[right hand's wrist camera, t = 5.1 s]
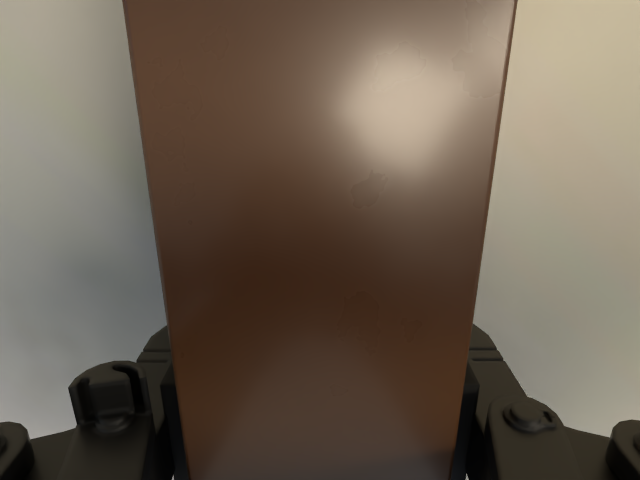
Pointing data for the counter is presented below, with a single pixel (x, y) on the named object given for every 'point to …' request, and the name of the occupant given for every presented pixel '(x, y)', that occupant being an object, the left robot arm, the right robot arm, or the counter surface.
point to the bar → (319, 223)
